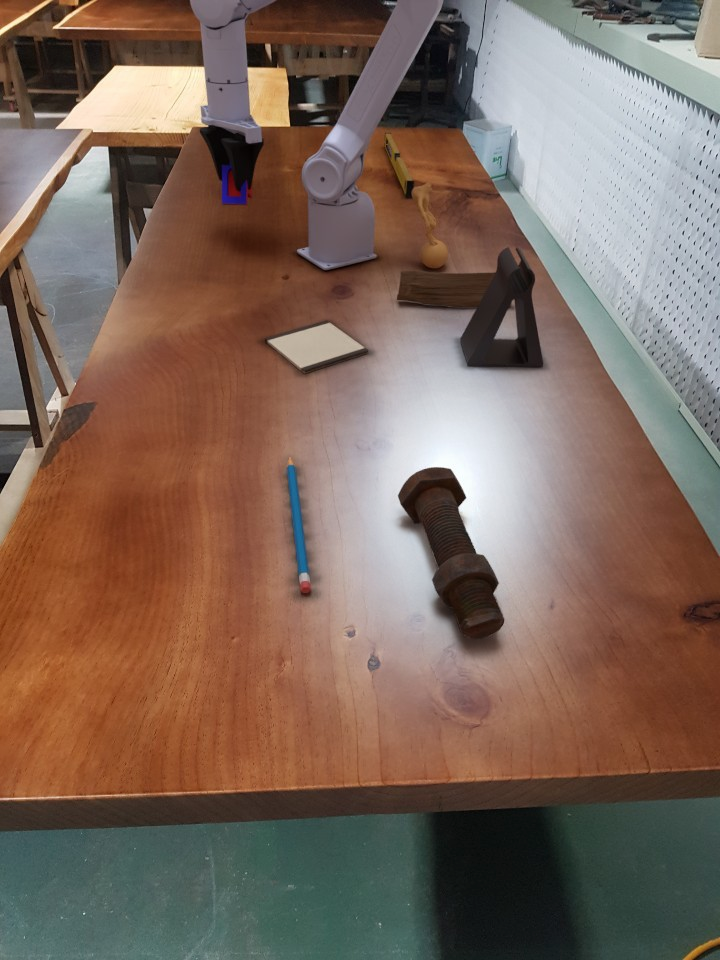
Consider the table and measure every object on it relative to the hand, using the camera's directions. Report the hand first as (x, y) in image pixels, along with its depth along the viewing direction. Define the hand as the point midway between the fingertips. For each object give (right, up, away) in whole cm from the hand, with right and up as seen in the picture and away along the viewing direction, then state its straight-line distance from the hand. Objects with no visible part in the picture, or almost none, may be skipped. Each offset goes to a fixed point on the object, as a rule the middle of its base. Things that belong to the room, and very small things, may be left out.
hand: (234, 184), depth 105 cm
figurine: (+28, -12, +1) cm, 31 cm away
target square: (+13, -27, -19) cm, 36 cm away
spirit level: (+26, +18, +38) cm, 50 cm away
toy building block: (0, -2, +1) cm, 2 cm away
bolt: (+26, -51, -47) cm, 74 cm away
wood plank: (+31, -20, -9) cm, 38 cm away
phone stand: (+35, -28, -19) cm, 49 cm away
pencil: (+13, -47, -43) cm, 65 cm away
